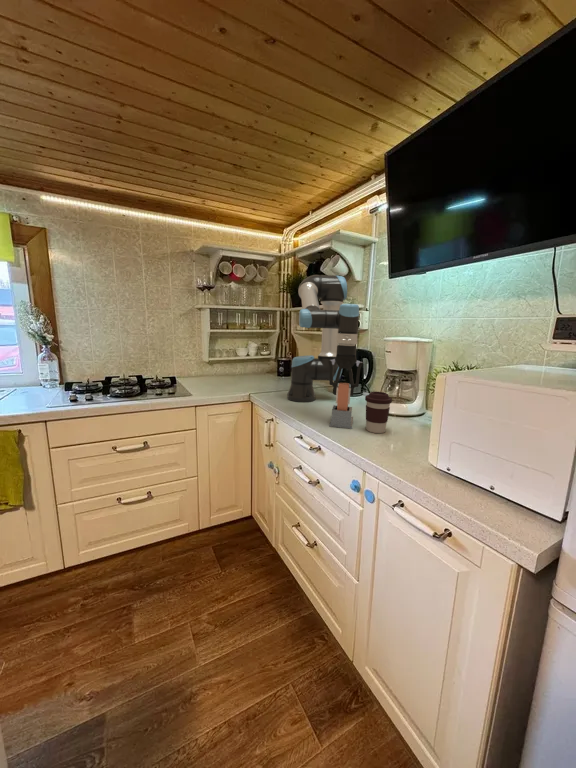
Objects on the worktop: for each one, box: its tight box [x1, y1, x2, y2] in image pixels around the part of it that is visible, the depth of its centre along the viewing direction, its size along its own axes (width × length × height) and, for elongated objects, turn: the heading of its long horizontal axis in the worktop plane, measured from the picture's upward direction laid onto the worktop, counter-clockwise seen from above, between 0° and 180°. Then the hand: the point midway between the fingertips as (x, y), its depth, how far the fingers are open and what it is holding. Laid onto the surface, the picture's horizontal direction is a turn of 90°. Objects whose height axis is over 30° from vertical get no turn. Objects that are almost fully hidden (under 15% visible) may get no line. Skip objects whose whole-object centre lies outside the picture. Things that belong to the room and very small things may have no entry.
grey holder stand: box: [328, 404, 354, 430], centre depth 133 cm, size 16×9×13 cm, turn 167°
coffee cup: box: [364, 391, 393, 434], centre depth 124 cm, size 10×10×15 cm
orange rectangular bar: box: [336, 382, 350, 411], centre depth 128 cm, size 4×4×14 cm
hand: (342, 402), depth 129 cm, fingers closed on orange rectangular bar, 4 cm apart
